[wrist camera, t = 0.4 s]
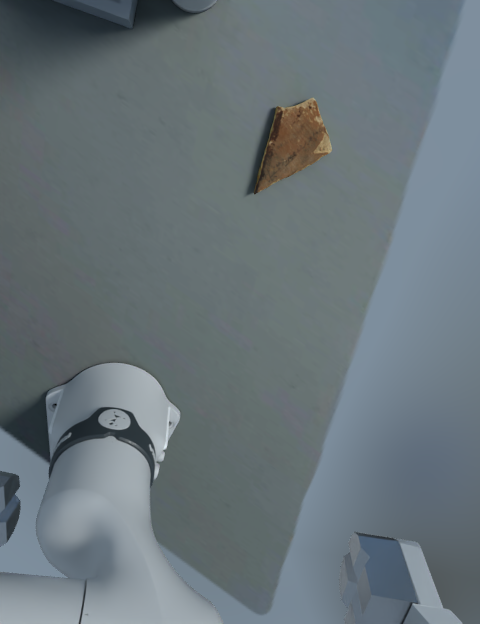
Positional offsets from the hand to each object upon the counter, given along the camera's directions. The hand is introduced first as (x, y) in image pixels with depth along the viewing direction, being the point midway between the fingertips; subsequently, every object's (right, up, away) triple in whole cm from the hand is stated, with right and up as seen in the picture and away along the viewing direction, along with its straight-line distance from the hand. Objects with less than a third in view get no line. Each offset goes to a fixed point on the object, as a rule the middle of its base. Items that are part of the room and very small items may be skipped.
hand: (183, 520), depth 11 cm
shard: (+8, +25, +44) cm, 51 cm away
